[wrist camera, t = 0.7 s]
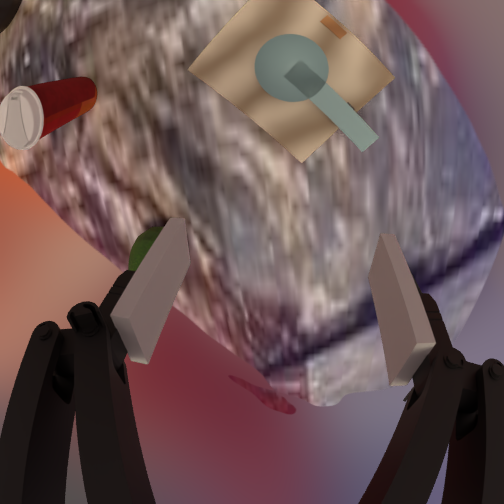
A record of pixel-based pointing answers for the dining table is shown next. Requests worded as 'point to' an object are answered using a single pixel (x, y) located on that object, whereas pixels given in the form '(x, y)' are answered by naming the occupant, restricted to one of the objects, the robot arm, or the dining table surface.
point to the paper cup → (43, 109)
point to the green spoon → (307, 82)
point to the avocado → (142, 246)
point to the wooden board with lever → (268, 107)
